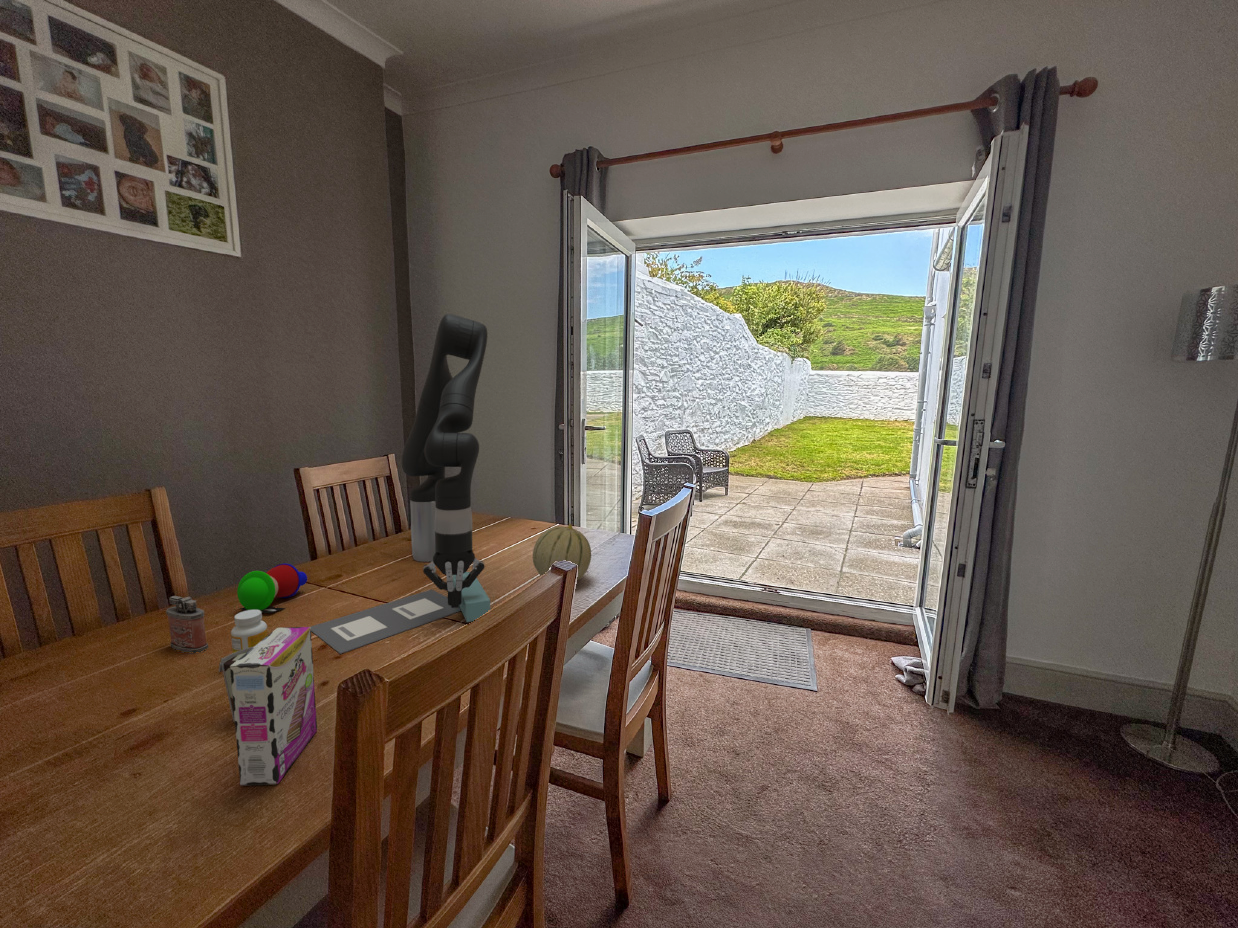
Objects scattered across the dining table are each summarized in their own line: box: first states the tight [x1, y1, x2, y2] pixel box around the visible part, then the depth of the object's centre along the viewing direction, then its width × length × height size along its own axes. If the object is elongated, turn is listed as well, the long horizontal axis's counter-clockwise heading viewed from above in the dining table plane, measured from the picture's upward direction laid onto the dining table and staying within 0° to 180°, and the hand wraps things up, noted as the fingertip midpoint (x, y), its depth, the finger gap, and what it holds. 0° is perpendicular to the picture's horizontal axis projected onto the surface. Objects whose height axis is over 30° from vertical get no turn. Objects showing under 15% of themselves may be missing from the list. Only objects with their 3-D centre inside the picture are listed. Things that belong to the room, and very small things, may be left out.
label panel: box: [310, 589, 462, 655], centre depth 118 cm, size 16×28×1 cm, turn 139°
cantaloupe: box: [532, 523, 592, 581], centre depth 138 cm, size 15×15×15 cm
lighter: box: [165, 595, 209, 654], centre depth 103 cm, size 8×3×10 cm, turn 71°
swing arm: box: [452, 571, 491, 623], centre depth 124 cm, size 5×20×4 cm, turn 26°
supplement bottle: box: [230, 610, 269, 653], centre depth 97 cm, size 5×5×10 cm
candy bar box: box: [230, 626, 318, 787], centre depth 73 cm, size 11×5×16 cm, turn 5°
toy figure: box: [236, 563, 308, 614], centre depth 124 cm, size 9×10×15 cm
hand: (454, 606), depth 116 cm, fingers closed
